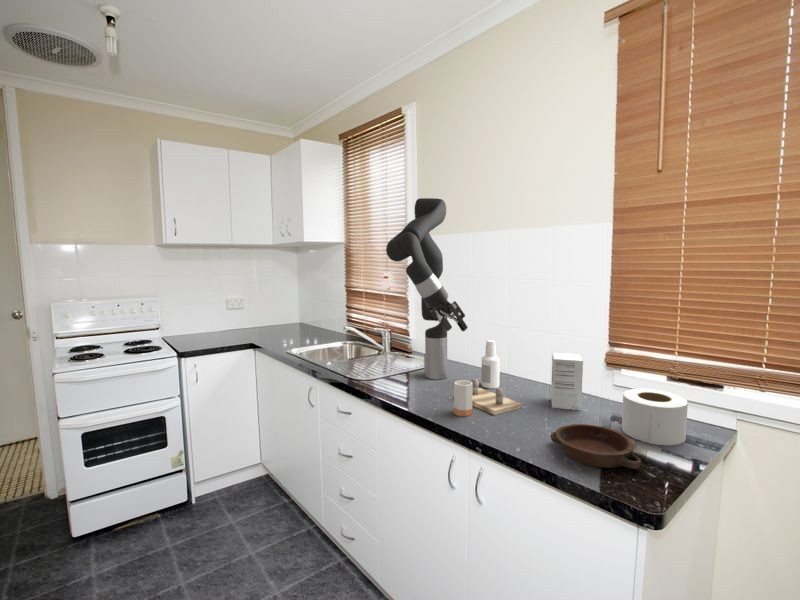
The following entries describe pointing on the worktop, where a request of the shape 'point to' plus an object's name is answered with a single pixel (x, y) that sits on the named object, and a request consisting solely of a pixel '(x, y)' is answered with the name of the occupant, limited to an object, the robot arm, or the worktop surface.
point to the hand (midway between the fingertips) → (457, 329)
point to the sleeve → (463, 398)
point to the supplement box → (566, 381)
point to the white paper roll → (654, 416)
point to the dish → (596, 446)
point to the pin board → (491, 400)
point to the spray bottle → (490, 366)
